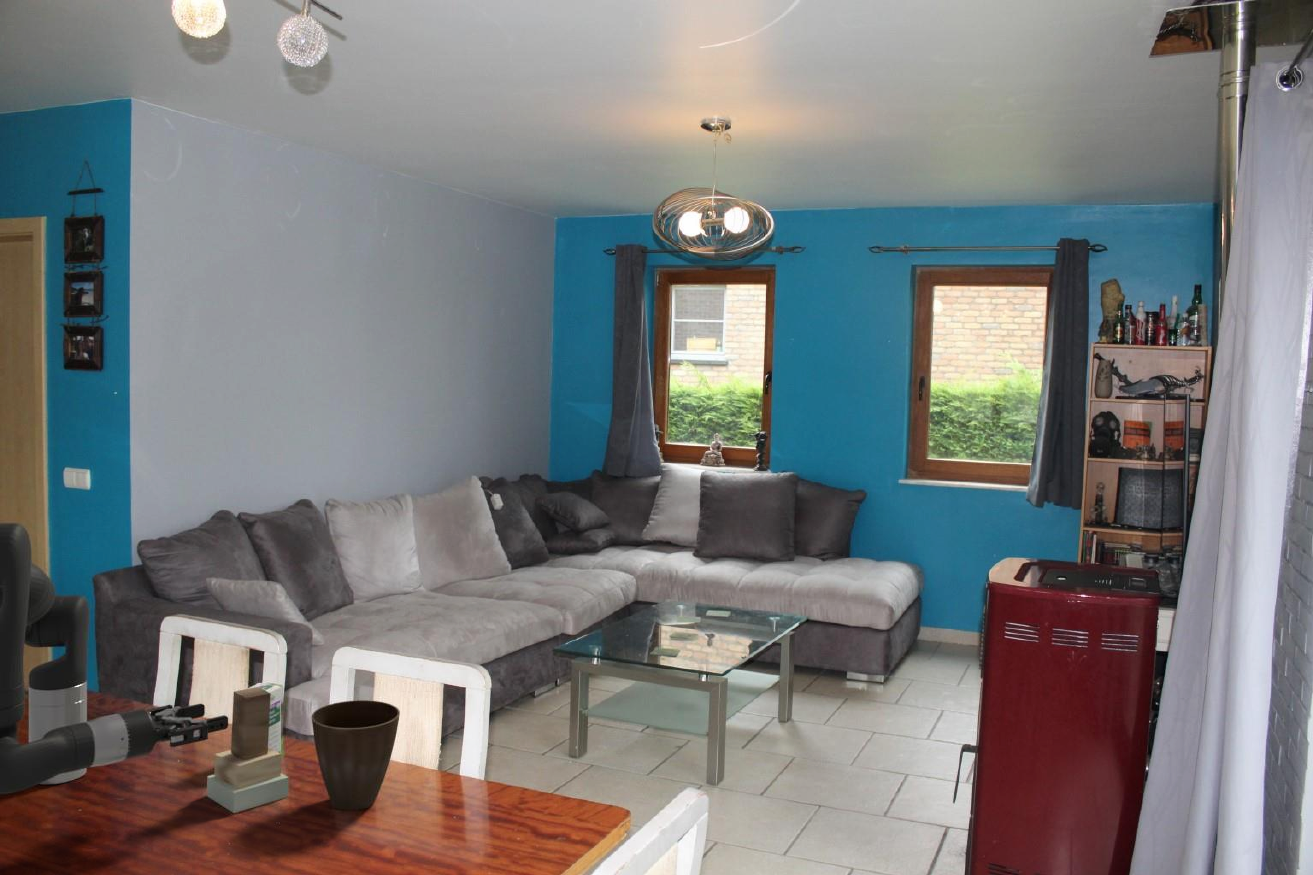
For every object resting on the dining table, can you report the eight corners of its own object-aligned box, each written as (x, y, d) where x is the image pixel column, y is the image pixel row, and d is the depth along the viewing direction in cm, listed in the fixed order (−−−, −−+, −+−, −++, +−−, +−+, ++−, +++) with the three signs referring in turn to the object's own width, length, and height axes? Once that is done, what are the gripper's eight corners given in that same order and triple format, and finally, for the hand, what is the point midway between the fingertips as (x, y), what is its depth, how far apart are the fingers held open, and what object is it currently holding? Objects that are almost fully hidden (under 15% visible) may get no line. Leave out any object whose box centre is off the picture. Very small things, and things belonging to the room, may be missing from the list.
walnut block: (230, 752, 183) (233, 691, 182) (254, 746, 187) (257, 686, 186) (243, 759, 180) (246, 698, 180) (267, 753, 184) (270, 693, 183)
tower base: (206, 798, 183) (207, 776, 183) (260, 783, 190) (260, 761, 190) (234, 815, 176) (234, 792, 176) (288, 799, 184) (288, 777, 184)
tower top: (214, 776, 183) (214, 754, 183) (255, 764, 189) (256, 742, 189) (238, 788, 178) (239, 765, 178) (280, 775, 184) (281, 753, 184)
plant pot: (415, 795, 186) (417, 708, 185) (358, 827, 173) (360, 733, 172) (350, 779, 192) (352, 695, 191) (291, 808, 179) (292, 718, 178)
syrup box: (267, 767, 197) (268, 692, 196) (239, 764, 198) (240, 689, 197) (283, 757, 202) (284, 684, 201) (256, 753, 203) (257, 681, 203)
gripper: (135, 725, 161) (235, 703, 173) (98, 704, 170) (196, 684, 182) (135, 772, 161) (235, 747, 174) (98, 749, 171) (195, 726, 183)
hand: (215, 715), depth 178 cm, fingers open, 8 cm apart
